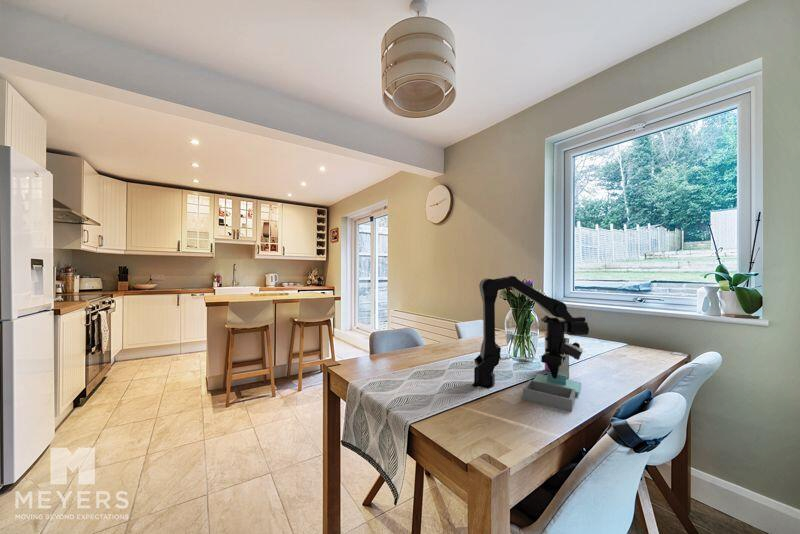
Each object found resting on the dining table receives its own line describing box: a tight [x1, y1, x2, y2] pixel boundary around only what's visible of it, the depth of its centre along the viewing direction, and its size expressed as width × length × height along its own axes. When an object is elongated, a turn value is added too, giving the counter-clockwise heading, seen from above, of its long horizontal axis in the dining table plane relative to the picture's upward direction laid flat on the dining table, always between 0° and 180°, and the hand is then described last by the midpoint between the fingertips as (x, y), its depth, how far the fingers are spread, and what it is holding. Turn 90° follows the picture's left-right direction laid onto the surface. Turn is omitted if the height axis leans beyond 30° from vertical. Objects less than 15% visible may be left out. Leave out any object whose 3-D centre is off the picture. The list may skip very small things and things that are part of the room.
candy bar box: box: [544, 331, 570, 380], centre depth 123 cm, size 11×5×16 cm, turn 179°
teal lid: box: [533, 371, 582, 395], centre depth 108 cm, size 15×11×5 cm
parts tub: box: [522, 379, 576, 412], centre depth 98 cm, size 14×10×4 cm
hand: (555, 377), depth 108 cm, fingers closed on teal lid
